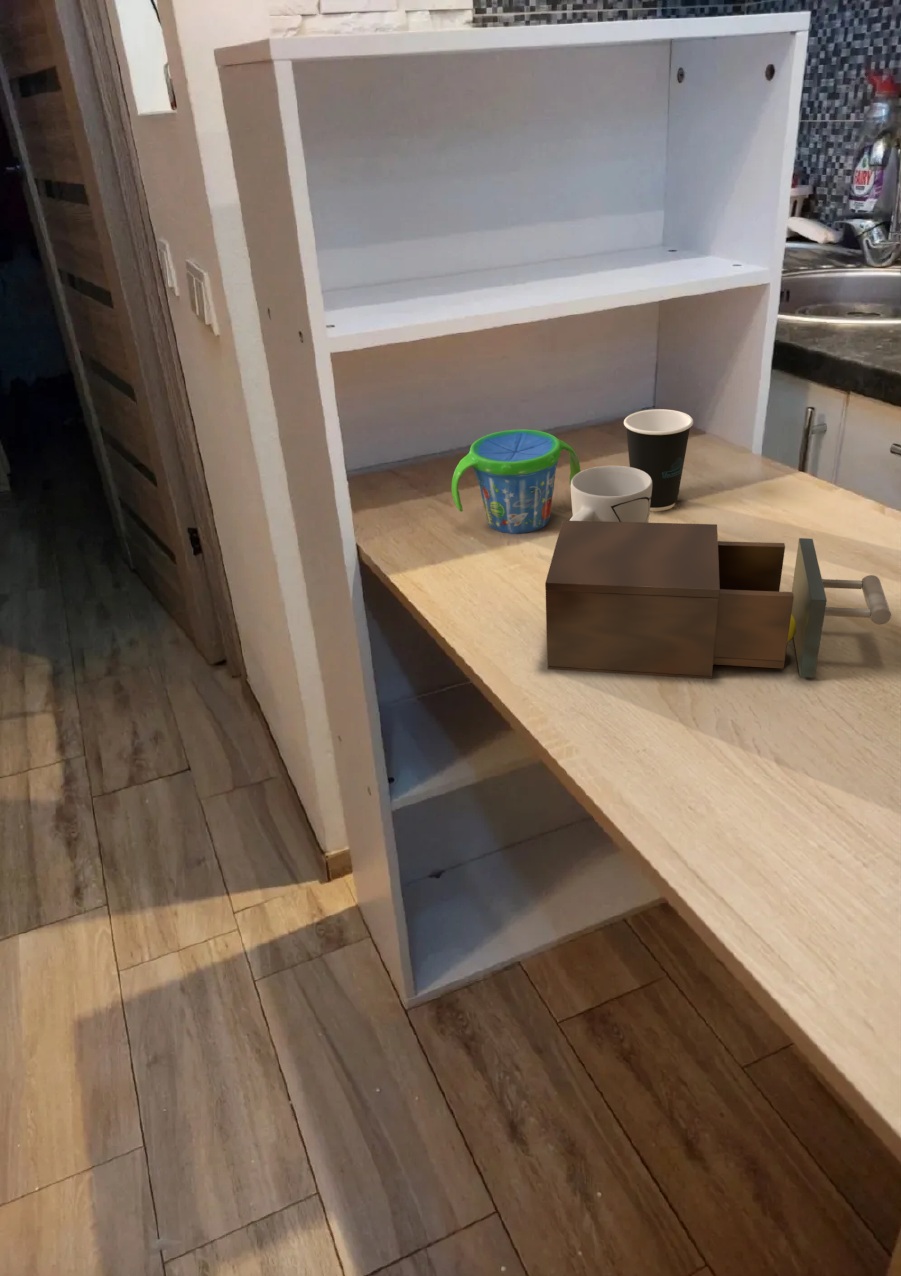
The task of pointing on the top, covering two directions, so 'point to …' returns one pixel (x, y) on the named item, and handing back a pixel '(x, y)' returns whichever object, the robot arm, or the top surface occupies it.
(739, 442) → the top surface
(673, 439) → the dixie cup
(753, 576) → the drawer
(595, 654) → the cabinet
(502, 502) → the snack cup
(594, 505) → the mug
